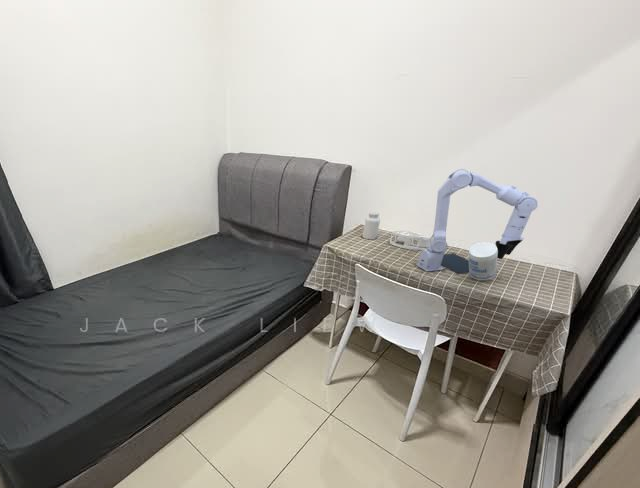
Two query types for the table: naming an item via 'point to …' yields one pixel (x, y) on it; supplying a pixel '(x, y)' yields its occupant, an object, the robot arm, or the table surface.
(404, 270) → the table surface
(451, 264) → the desk mat
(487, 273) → the supplement tub
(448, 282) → the table surface
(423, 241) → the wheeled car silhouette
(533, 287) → the table surface
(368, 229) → the pill bottle
